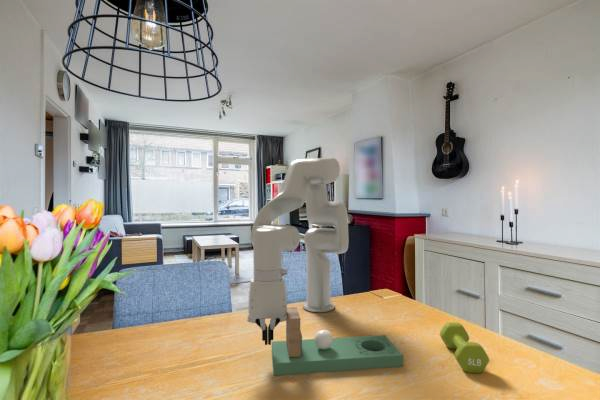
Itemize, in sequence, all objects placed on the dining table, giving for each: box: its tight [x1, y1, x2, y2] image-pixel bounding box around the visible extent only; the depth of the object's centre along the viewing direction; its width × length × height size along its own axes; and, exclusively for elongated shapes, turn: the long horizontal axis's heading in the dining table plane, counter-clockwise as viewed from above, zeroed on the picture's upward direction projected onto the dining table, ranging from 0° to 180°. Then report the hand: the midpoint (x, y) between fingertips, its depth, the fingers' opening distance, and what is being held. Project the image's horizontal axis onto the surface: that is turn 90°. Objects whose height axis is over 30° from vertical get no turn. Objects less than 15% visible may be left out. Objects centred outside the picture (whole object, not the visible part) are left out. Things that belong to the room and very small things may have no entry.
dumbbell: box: [439, 322, 490, 374], centre depth 88 cm, size 16×8×7 cm, turn 172°
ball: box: [314, 329, 334, 350], centre depth 87 cm, size 5×5×5 cm
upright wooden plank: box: [285, 306, 303, 357], centre depth 86 cm, size 8×4×10 cm, turn 7°
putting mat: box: [271, 334, 404, 376], centre depth 88 cm, size 12×34×3 cm, turn 97°
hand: (267, 342), depth 85 cm, fingers closed
